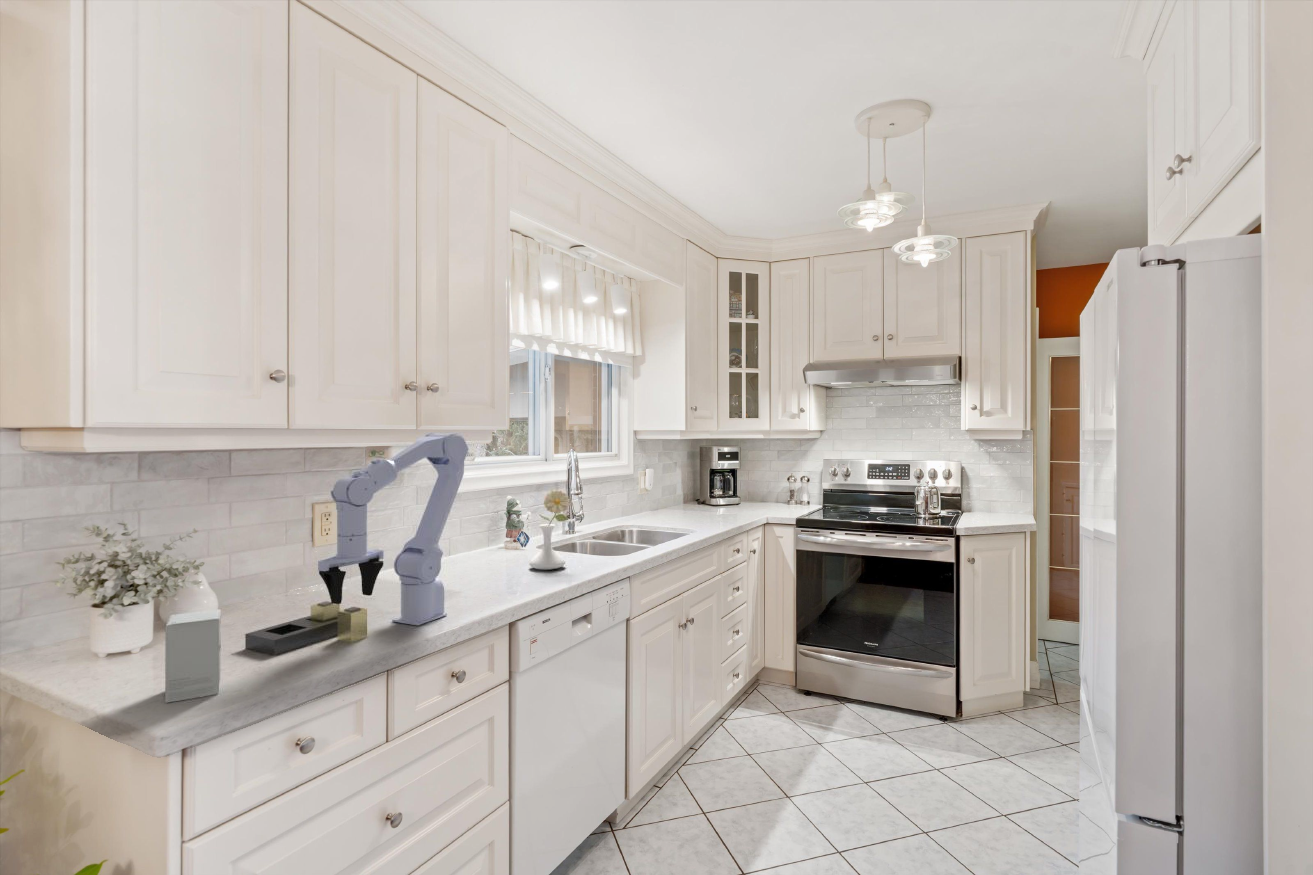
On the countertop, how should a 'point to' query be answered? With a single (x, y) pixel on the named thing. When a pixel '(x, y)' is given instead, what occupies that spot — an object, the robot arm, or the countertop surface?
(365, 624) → the block
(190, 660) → the supplement box
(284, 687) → the countertop surface
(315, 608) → the seated nut
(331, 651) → the countertop surface
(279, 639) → the rail
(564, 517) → the flower in vase
